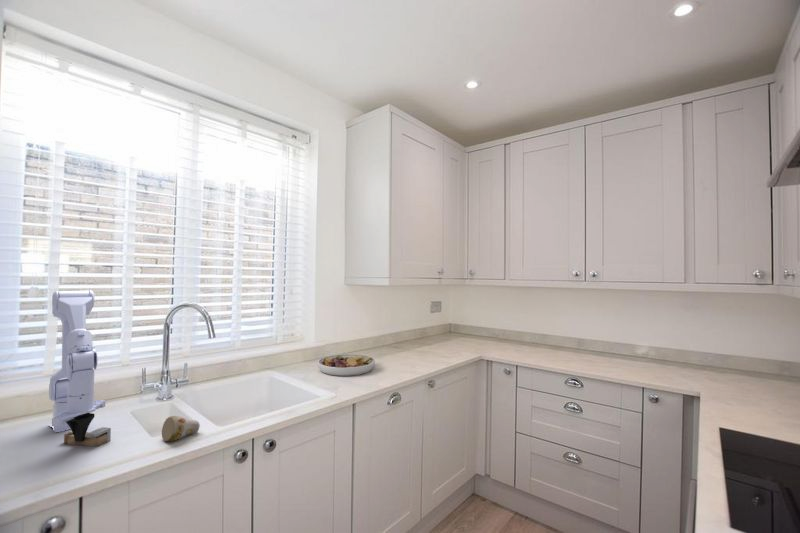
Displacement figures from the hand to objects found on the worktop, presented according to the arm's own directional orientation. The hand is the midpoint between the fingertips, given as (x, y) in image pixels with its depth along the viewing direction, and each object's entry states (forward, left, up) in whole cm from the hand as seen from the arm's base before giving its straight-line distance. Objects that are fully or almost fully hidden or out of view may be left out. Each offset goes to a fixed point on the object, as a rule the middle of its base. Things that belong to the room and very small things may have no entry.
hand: (79, 441), depth 106 cm
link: (-1, +1, -1) cm, 2 cm away
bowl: (+1, +109, -2) cm, 109 cm away
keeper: (+2, +4, -2) cm, 5 cm away
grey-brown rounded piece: (+16, +21, -2) cm, 26 cm away
